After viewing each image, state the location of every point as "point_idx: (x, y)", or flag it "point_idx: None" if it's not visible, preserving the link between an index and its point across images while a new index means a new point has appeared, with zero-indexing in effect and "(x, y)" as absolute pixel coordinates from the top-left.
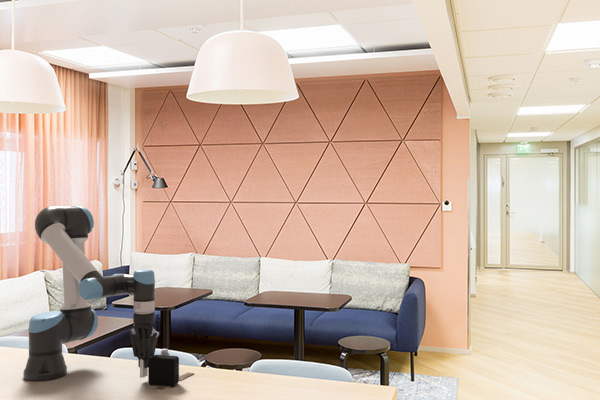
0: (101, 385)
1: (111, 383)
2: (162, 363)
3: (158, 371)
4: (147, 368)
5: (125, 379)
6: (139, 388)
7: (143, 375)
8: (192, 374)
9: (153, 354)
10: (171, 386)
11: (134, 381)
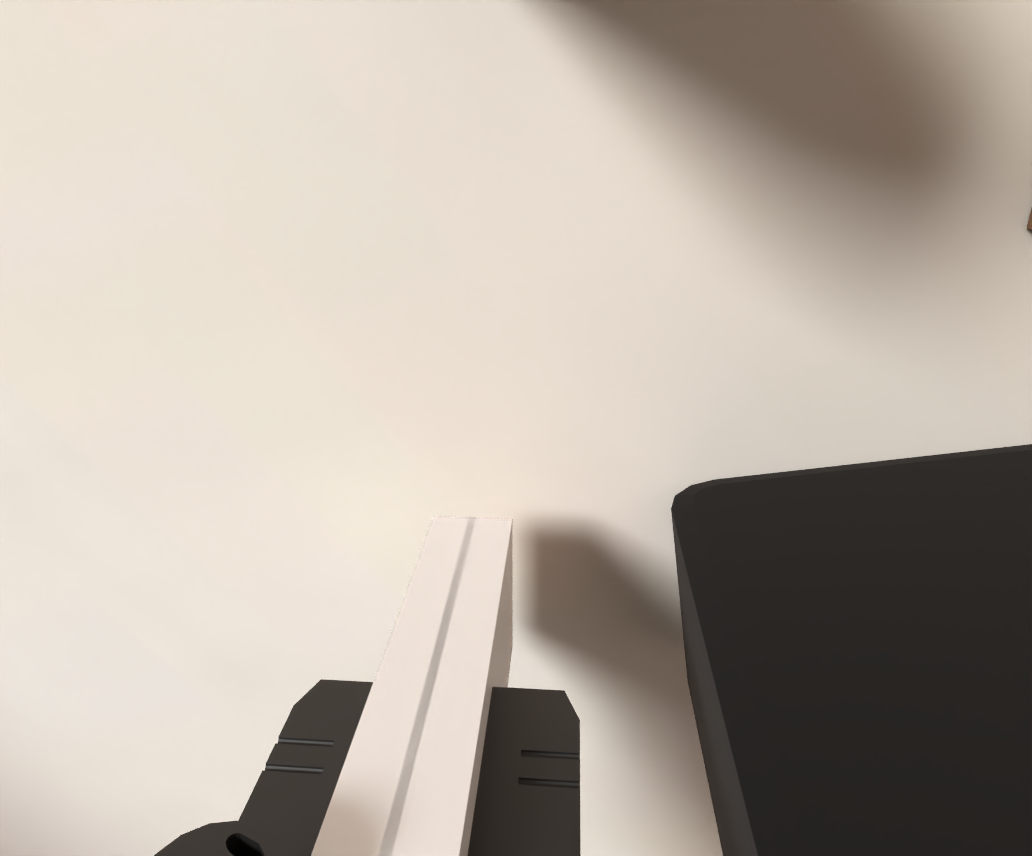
0: (65, 822)
1: (101, 733)
2: None
3: None
4: (497, 622)
5: (111, 529)
6: (639, 788)
7: (510, 661)
8: None
9: None
10: None
11: (330, 566)
